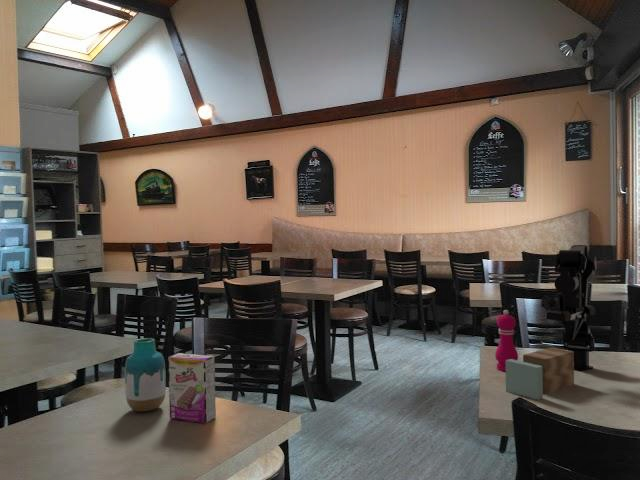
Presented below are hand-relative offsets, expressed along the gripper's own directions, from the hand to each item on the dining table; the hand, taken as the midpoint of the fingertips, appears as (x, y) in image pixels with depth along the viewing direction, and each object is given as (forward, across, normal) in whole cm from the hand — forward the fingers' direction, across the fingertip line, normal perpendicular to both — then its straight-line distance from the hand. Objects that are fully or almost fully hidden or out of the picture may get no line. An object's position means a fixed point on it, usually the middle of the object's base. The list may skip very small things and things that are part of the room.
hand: (571, 340), depth 161 cm
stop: (+12, +25, 0) cm, 28 cm away
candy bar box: (+12, +107, -41) cm, 116 cm away
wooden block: (+12, +12, 0) cm, 17 cm away
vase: (+12, +115, -56) cm, 128 cm away
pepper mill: (+12, +7, -18) cm, 23 cm away
